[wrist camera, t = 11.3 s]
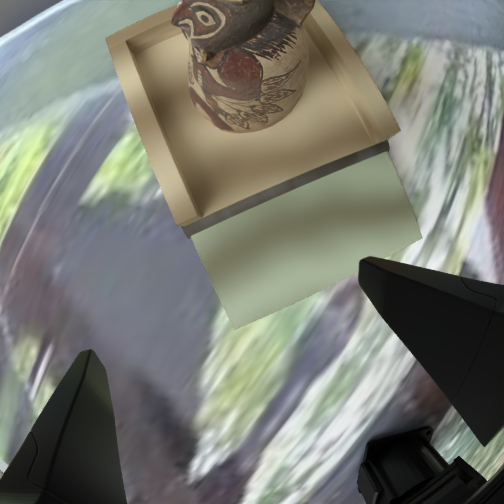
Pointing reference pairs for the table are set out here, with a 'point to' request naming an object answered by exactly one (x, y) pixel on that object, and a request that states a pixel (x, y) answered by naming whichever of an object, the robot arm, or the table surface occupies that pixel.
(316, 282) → the shallow wooden tray
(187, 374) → the table surface
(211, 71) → the figurine
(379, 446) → the robot arm
